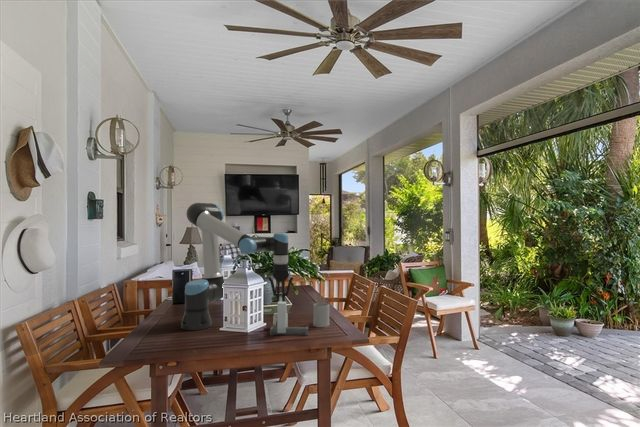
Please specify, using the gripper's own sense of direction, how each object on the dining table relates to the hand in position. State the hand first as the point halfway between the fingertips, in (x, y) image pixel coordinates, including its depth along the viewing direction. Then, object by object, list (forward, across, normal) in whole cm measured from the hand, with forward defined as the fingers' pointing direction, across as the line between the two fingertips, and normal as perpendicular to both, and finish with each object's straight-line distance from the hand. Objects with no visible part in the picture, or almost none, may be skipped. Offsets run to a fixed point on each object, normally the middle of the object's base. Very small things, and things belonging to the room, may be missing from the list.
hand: (280, 309), depth 195 cm
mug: (+10, +21, +8) cm, 24 cm away
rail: (+10, +5, -9) cm, 14 cm away
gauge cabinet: (+10, 0, 0) cm, 10 cm away
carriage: (+9, +1, -9) cm, 13 cm away
